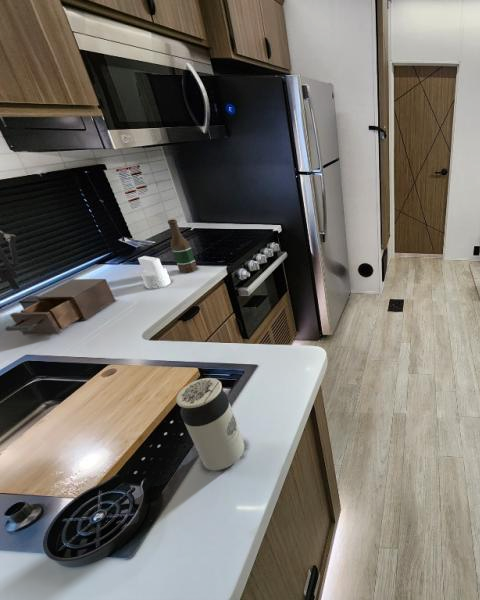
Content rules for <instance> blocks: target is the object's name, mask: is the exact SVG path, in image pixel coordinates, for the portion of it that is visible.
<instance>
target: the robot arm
mask: <svg viewBox="0 0 480 600" xmlns="http://www.w3.org/2000/svg"><path fill="white" fill-rule="evenodd" d="M4 238H5V241H7V242H8V245H9V250H10V254H11V259H12V262H10V260H9V258H8V257H7V254H5V251H4V250H3V248H2V247H1V246H0V259H1V261H2V263H3V264H4V266H5V267H6V268H1V267H0V280H1V281H2V282H6V281H7V282H8V283H9V285H10V287H11V288H12V290H13V291H15V290H19V289H21V287H20V285H19V283H18V282H17V280H16V279H18V278H19V274H18V273H17V271H16V270H15V268H16V267H18V266H20V260H19V255H18V250H17V246H16V241H17V235H15V234H14V233H13V234H10V233H5V232H4V231H3V230H1V229H0V245H1V244H2V242H3V239H4Z"/></svg>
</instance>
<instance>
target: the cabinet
mask: <svg viewBox="0 0 480 600" xmlns="http://www.w3.org/2000/svg"><path fill="white" fill-rule="evenodd" d="M37 296H38V297H36V298H37V300H38V302H39V301H41V300H43V299H72V300H73V302H74V303H75V305H76V307H77V309H78V311H79V312H80V314H81V316H82V317H81V318H79V319H78V320H77V321H87V320H89V319H90V318H93V316H95V315H97V314H98V313H100V312H101V311H103V310H104V309H105V308H107V307H109V306H110V305H112V304H113V303H115V302H116V301H117V300H116V298H115V295H114V294H113V292H112V290H111V288H110V285H109V283H108V281H107V279H106V278H77V279H75V278H74V279H73V278H72V279H70V280H67V281H66V282H63V283H62V284H60V285H58V286H56V287H54V288H52V289H50V290H48V291H46V292H44V293H42V294H39V295H37Z"/></svg>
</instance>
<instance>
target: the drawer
mask: <svg viewBox="0 0 480 600" xmlns="http://www.w3.org/2000/svg"><path fill="white" fill-rule="evenodd" d="M9 316H10V317H11V319H12V320H13V322H14V324H12V325H7V326H5V331H6V332H21V334H22V335H24V336H29V335H32V336H33V335H59V334H61V333H62V330H63V329H65V328H67V327H68V326H70V325H71V324H73V323H74V322H76V321H79V320H78V319H79V318H81V317H82V316H81V314H80V312H79V311H78V309H77V307H76V305H75V303H74V302H73V300H72V299H43V300H41V301H39V302H37V303H35V304H33V305H31V306H29V307H27V308H25V309H24V308H23V309H21V310H20V312H11V313H10V314H9Z"/></svg>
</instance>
